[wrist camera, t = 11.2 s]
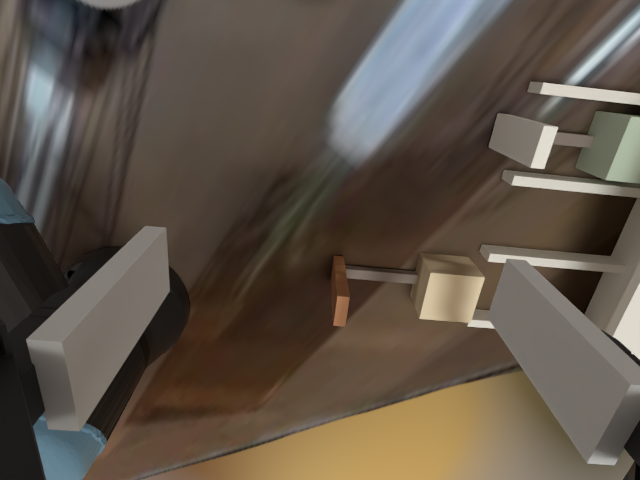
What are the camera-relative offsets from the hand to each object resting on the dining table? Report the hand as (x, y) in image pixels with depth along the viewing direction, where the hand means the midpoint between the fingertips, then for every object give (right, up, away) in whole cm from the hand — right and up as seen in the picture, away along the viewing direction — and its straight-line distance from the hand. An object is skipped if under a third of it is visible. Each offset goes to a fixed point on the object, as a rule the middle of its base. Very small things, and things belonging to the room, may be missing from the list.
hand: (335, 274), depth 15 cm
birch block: (+9, -3, +33) cm, 34 cm away
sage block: (+25, +12, +26) cm, 39 cm away
